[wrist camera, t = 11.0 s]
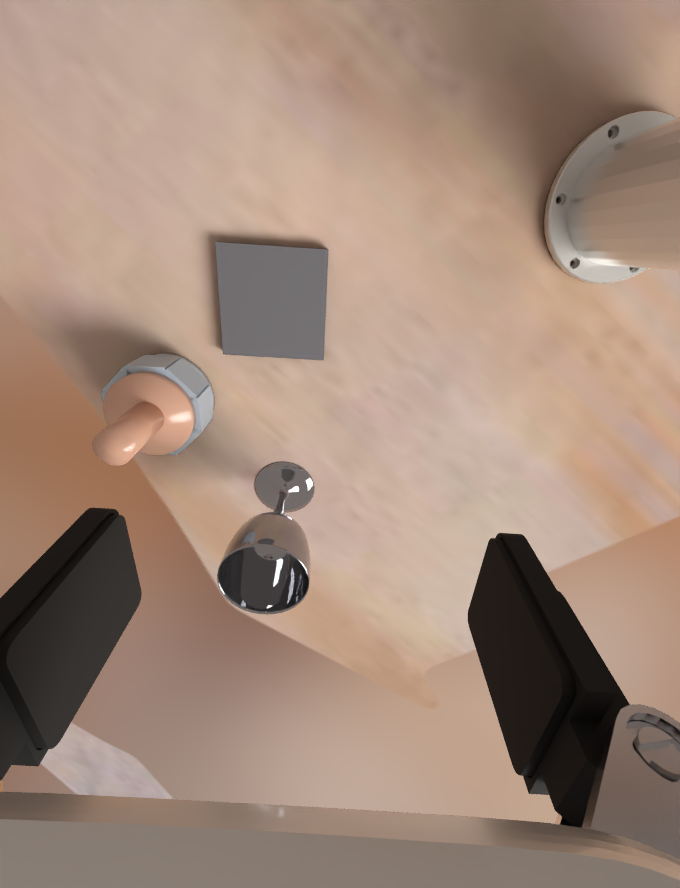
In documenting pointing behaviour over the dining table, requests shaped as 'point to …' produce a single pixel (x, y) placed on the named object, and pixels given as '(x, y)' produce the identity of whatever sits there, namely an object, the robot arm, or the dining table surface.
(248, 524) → the wine glass
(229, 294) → the mat
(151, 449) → the lid
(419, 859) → the robot arm
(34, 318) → the dining table surface
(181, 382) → the bowl
